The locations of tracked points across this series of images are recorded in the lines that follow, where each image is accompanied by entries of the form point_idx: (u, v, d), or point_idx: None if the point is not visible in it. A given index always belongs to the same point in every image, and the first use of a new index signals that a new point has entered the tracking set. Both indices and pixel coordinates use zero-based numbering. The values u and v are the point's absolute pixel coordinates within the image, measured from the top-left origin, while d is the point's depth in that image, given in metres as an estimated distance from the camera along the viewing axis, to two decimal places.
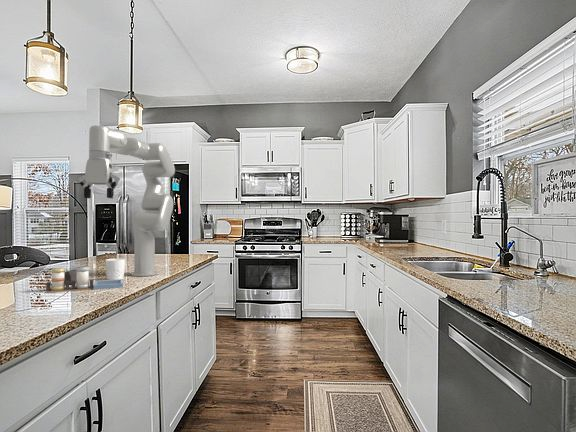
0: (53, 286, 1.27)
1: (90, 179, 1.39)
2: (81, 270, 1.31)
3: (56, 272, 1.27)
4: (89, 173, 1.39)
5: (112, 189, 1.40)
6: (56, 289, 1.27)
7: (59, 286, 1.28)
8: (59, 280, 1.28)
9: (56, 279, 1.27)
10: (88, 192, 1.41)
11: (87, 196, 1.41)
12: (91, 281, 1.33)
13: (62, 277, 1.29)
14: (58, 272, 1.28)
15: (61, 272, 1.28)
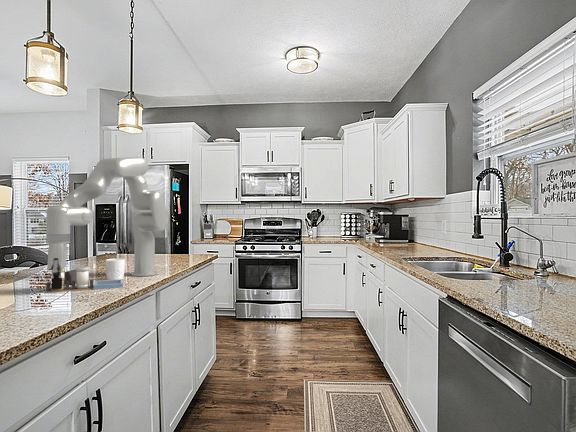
0: None
1: (64, 265, 1.28)
2: (81, 270, 1.31)
3: None
4: (64, 259, 1.28)
5: None
6: (56, 289, 1.27)
7: None
8: None
9: None
10: None
11: None
12: (91, 281, 1.33)
13: (62, 277, 1.29)
14: None
15: (61, 272, 1.28)
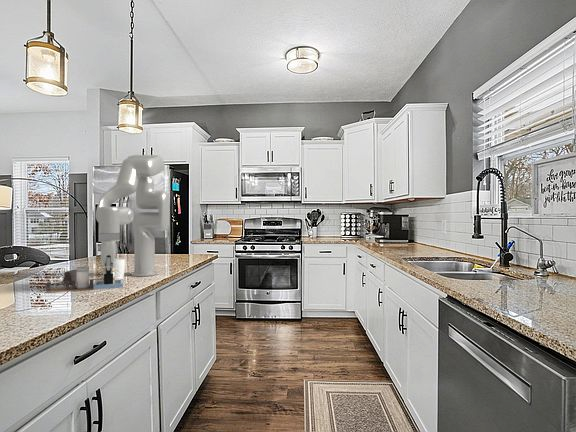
0: None
1: None
2: (81, 270, 1.31)
3: None
4: (115, 256, 1.35)
5: None
6: None
7: None
8: None
9: None
10: None
11: None
12: (91, 281, 1.33)
13: (113, 276, 1.36)
14: None
15: None
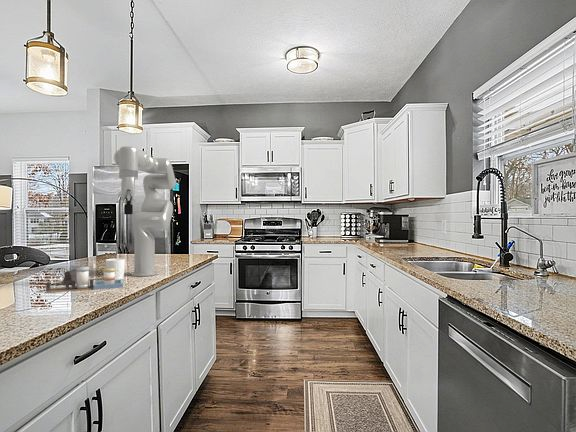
0: None
1: None
2: (81, 270, 1.31)
3: (108, 271, 1.35)
4: (134, 191, 1.49)
5: None
6: None
7: None
8: (111, 279, 1.35)
9: (108, 278, 1.35)
10: None
11: None
12: (91, 281, 1.33)
13: (113, 276, 1.36)
14: (110, 272, 1.35)
15: (112, 271, 1.36)
